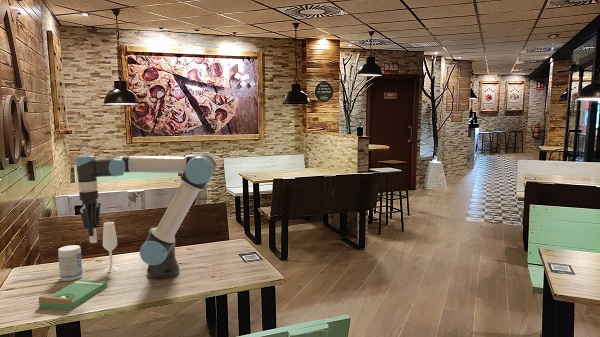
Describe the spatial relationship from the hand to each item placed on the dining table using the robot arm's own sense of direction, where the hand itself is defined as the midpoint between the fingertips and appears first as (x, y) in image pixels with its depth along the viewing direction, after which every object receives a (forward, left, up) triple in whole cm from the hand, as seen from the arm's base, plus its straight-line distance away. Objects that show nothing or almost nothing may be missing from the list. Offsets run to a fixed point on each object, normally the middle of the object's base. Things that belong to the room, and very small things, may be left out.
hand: (93, 242), depth 195 cm
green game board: (+2, +12, -21) cm, 24 cm away
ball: (+2, +19, -19) cm, 27 cm away
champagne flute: (+6, -20, -21) cm, 30 cm away
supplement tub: (+18, -7, -21) cm, 29 cm away
